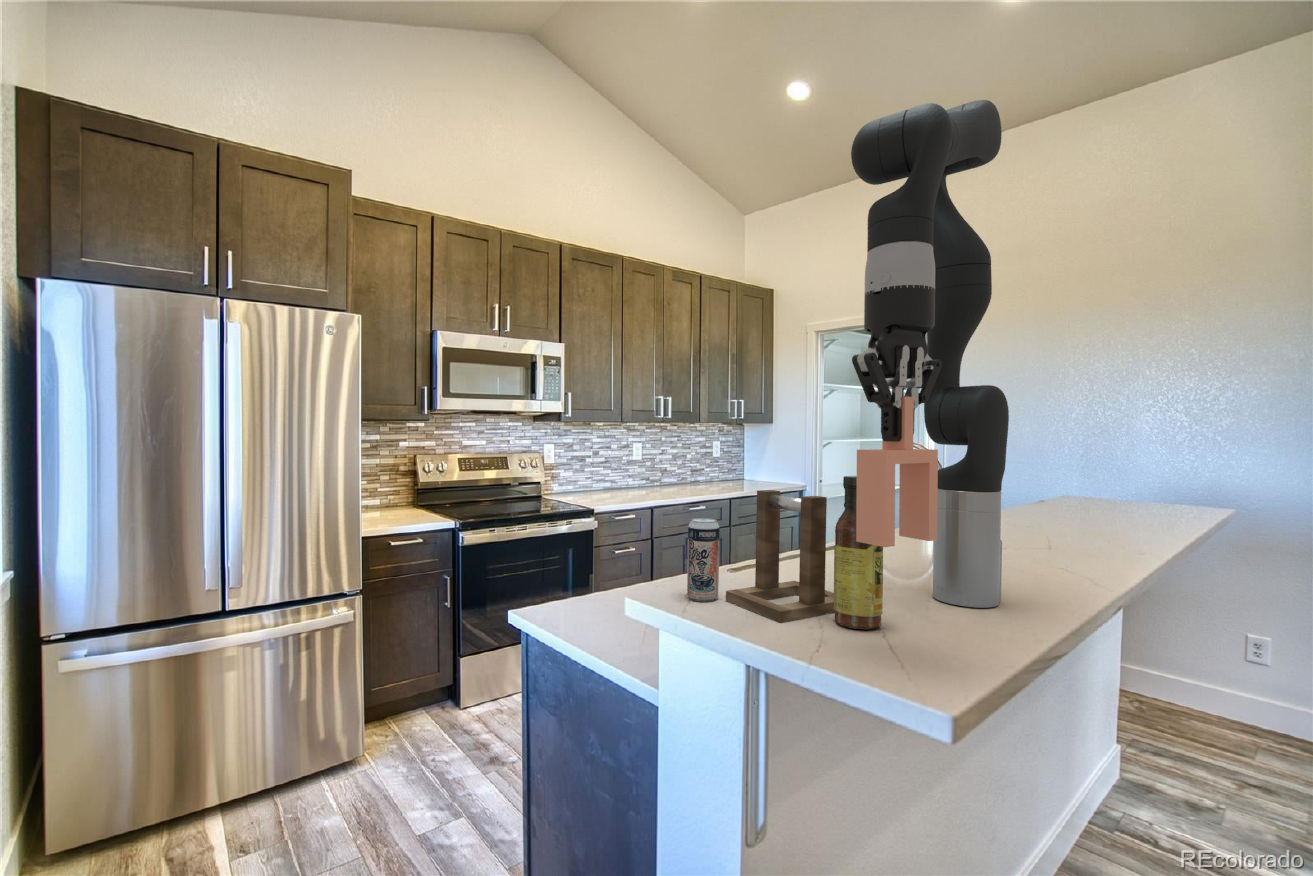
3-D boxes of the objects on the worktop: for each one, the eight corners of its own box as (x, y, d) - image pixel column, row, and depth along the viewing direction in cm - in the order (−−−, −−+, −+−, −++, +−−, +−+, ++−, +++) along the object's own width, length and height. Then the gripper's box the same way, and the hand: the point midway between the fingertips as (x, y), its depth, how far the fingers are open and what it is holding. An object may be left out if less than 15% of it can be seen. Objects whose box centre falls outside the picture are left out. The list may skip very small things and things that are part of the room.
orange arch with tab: (907, 535, 73) (908, 399, 73) (937, 540, 70) (938, 397, 70) (856, 541, 69) (857, 397, 68) (885, 547, 65) (886, 395, 65)
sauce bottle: (886, 633, 77) (889, 478, 77) (835, 629, 78) (838, 477, 78) (877, 618, 83) (880, 475, 83) (831, 615, 85) (833, 473, 84)
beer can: (685, 601, 90) (686, 521, 90) (688, 593, 95) (690, 517, 95) (717, 603, 89) (718, 522, 89) (719, 595, 94) (720, 518, 94)
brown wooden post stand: (794, 589, 98) (796, 488, 98) (852, 608, 88) (854, 495, 88) (725, 600, 91) (727, 491, 91) (780, 622, 80) (782, 499, 80)
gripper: (908, 302, 76) (907, 440, 76) (832, 289, 69) (830, 441, 69) (965, 291, 69) (963, 441, 69) (887, 274, 62) (885, 442, 62)
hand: (897, 440), depth 69 cm, fingers closed on orange arch with tab, 1 cm apart
